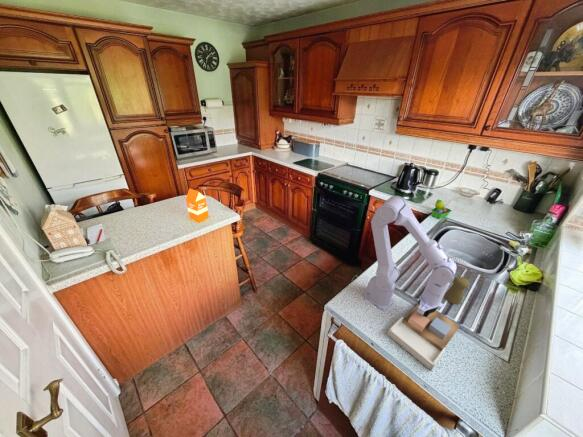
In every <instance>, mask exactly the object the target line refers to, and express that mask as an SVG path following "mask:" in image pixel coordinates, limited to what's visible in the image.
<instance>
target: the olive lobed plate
mask: <svg viewBox="0 0 583 437" xmlns="http://www.w3.org/2000/svg"><path fill="white" fill-rule="evenodd" d="M452 282H453V283H452V284H451V285H450V288H449V289H447V291H446V293H445V294H444V296H443V297H444V299H445V300H446V301H447V302H449V303H450V304H452V305H460V304H462V300H463V296H464V294H465V291H466V290H467V289H468V288H469V287H470V281H469V280H468V279H467V278H465V277H463V276H461V275H460V276H454V280H453V281H452Z"/></svg>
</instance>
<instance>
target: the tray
mask: <svg viewBox="0 0 583 437" xmlns="http://www.w3.org/2000/svg"><path fill="white" fill-rule="evenodd" d="M404 318H405V317H404V316H401V317H400V318H399V319H398V320H397V321H396V322H394V324H393V325H391V327H390V328H389V329H388V332H387V334H386V335H387V336H388V337H389V338H390V339H392V340H393V341H394V342H395V343H396V344H398V345H399V346H400V347H401V348H402V349H404V350H405V351H406V352H407V353H408V354H410V355H411V356H412V357H413V358H415V359H416V360H417V361H418V362H419V363H421V364H422V365H423V366H424V367H426V368H427V369H428V371H430V372H432V370H433V369H434V368H435V366H436V364H438V362H439V361H440V359H441V358H442V356H443V355H444V353H445V352H446V350H447V348H446V347H445V348H443V350H442V351H440V350H438V349H437V348H436V347H434V346H433V345H432V344H430V343H429V342H428V341H426V340H425V339H424V338H423V337H421V336H420V335H419V334H417V333H416V332H415V331H413V330H412V329H411V328H409V327H408V326H407V325H405V324H404V323H403V322H402V321H403V319H404Z"/></svg>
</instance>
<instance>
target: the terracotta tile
mask: <svg viewBox="0 0 583 437" xmlns="http://www.w3.org/2000/svg"><path fill="white" fill-rule="evenodd" d="M429 321H430V320H429V319H428V318H426V317H425V316H423V315H422V314H420V313H419V312H417V311H415V313H414V314H413V315H412V316H411V317H410V318H409V321H408V323H409V324H411V325H412V326H414V327H415V328H416V329H418V330H419V331H420V332H422V331H423V330H424V329H425V327H426V326H427V325H428V323H429Z"/></svg>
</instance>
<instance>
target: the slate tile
mask: <svg viewBox="0 0 583 437" xmlns="http://www.w3.org/2000/svg"><path fill="white" fill-rule="evenodd" d="M428 329H429V330H430V331H432V332H433V333H434V334H436V335H437V336H439V337H440V338H441V339H444V338H445V336H446V335H447V334H448V332H449V331H450V329H451V326H449V325H448V324H446V323H445V322H443V321H442V320H440V319H439V318H437V317H436V318H435V320H434V321H433V322H432V323H431V324H430V326H429V328H428Z"/></svg>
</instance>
